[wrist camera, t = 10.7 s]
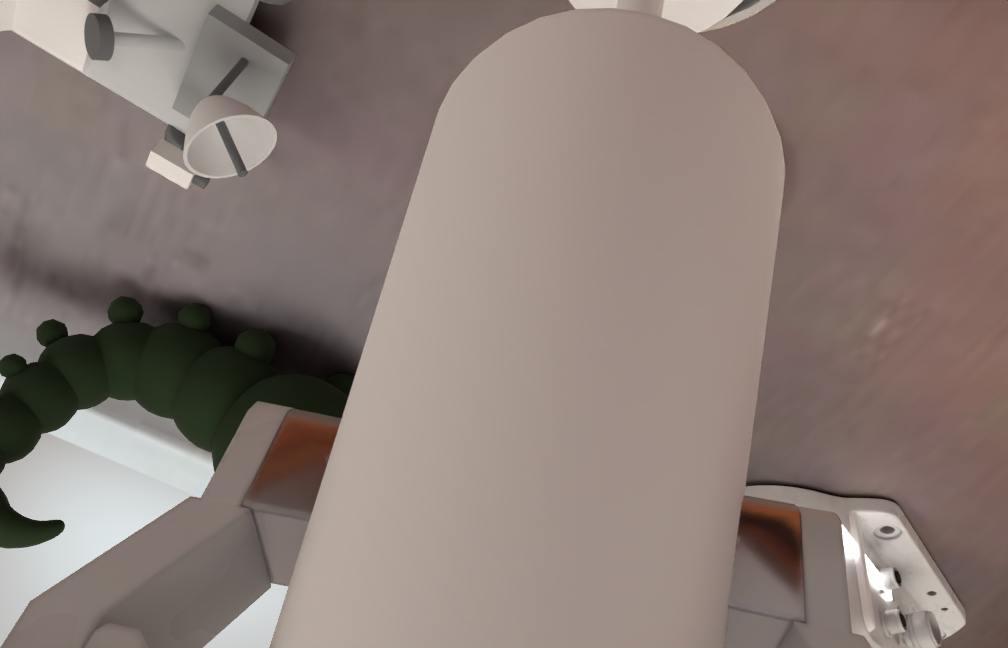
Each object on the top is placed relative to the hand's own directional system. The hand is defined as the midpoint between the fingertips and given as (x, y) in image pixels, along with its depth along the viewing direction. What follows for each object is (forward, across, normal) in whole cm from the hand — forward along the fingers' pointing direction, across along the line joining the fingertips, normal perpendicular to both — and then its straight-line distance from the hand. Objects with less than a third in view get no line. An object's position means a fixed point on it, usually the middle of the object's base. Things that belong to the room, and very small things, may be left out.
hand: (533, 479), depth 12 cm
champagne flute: (+20, 0, 0) cm, 20 cm away
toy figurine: (+30, +22, +34) cm, 50 cm away
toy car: (+30, +23, +9) cm, 39 cm away
